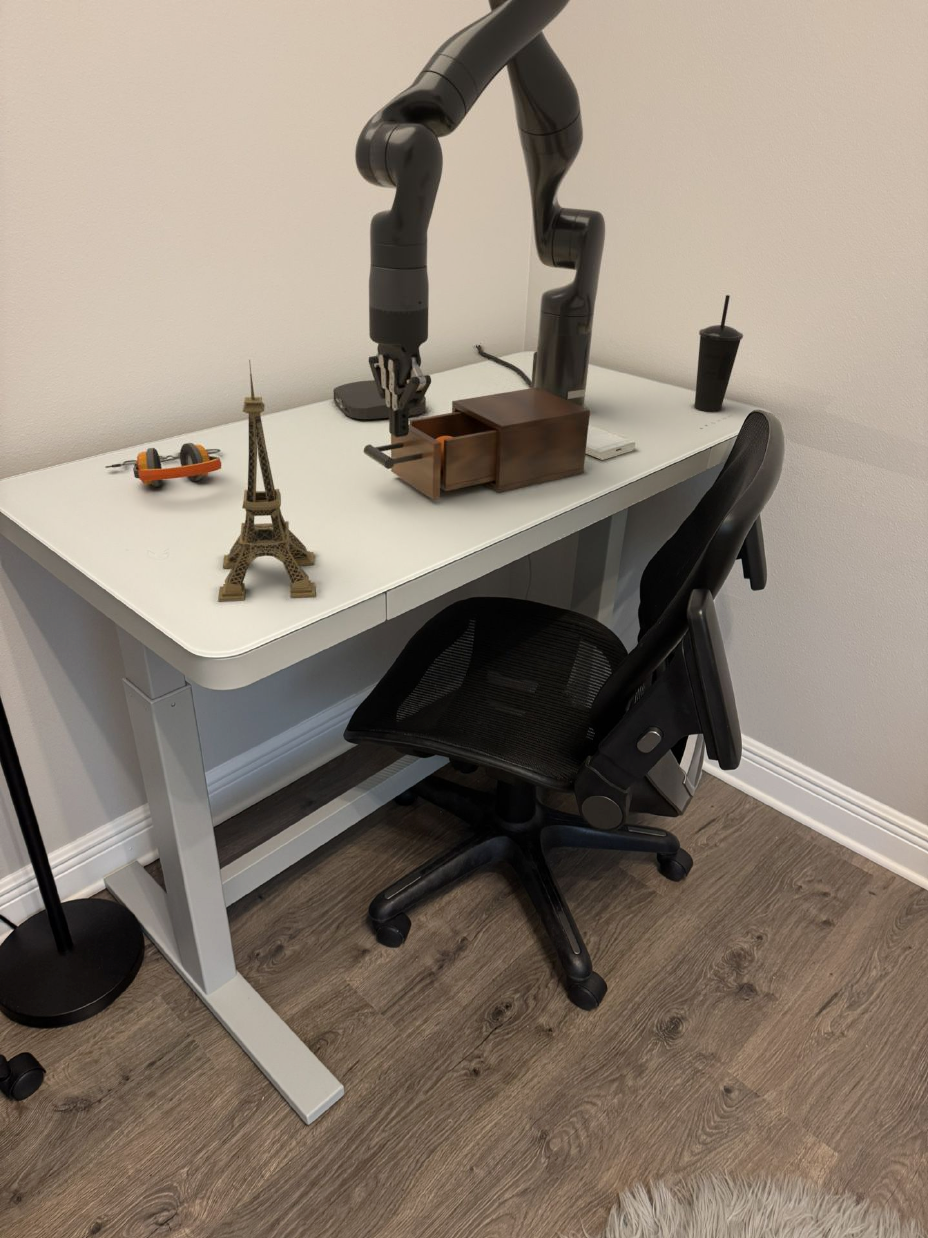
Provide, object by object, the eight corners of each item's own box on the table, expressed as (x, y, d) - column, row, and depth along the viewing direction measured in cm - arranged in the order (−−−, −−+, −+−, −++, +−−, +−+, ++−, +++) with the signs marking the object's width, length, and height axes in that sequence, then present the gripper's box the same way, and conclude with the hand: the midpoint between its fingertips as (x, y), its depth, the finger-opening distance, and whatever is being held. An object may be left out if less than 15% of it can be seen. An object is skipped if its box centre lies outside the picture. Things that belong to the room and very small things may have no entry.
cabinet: (498, 492, 128) (502, 426, 123) (450, 463, 137) (452, 400, 132) (583, 473, 135) (590, 409, 130) (532, 447, 144) (537, 387, 139)
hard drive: (545, 429, 147) (602, 450, 139) (579, 420, 152) (636, 440, 144) (544, 439, 148) (601, 460, 140) (578, 429, 153) (634, 450, 145)
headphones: (213, 430, 138) (245, 442, 121) (219, 465, 139) (251, 481, 122) (98, 445, 131) (115, 460, 114) (105, 481, 132) (123, 501, 115)
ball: (422, 467, 129) (422, 434, 127) (451, 461, 132) (451, 428, 129) (440, 478, 126) (440, 444, 123) (469, 472, 128) (470, 438, 125)
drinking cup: (734, 406, 167) (756, 295, 157) (721, 416, 161) (742, 301, 151) (695, 399, 170) (713, 289, 160) (680, 408, 165) (699, 295, 155)
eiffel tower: (313, 554, 109) (301, 346, 96) (315, 596, 100) (302, 373, 87) (224, 557, 107) (200, 346, 94) (218, 601, 98) (190, 374, 85)
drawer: (395, 507, 119) (395, 451, 115) (355, 478, 128) (353, 425, 124) (518, 480, 129) (522, 427, 125) (473, 454, 138) (475, 404, 134)
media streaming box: (432, 415, 156) (432, 398, 155) (351, 423, 151) (351, 405, 150) (404, 391, 168) (404, 375, 166) (328, 398, 163) (327, 381, 161)
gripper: (452, 310, 110) (448, 445, 119) (398, 290, 119) (398, 417, 128) (399, 315, 106) (399, 454, 115) (348, 294, 115) (351, 424, 124)
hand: (398, 434), depth 121 cm, fingers closed
